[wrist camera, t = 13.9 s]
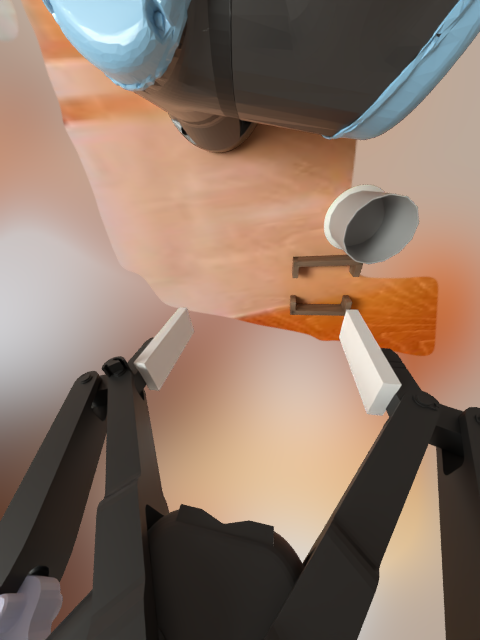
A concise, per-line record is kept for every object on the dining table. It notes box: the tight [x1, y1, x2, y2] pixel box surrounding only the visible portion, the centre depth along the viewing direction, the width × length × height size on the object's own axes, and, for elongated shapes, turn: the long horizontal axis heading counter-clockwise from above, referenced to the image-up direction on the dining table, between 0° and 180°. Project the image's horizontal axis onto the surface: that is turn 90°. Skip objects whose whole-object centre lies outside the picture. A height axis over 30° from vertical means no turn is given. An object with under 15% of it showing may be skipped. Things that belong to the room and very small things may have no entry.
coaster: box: [324, 185, 385, 250], centre depth 33 cm, size 10×10×1 cm
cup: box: [329, 190, 419, 264], centre depth 29 cm, size 8×8×10 cm
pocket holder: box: [290, 255, 363, 316], centre depth 39 cm, size 12×12×3 cm
